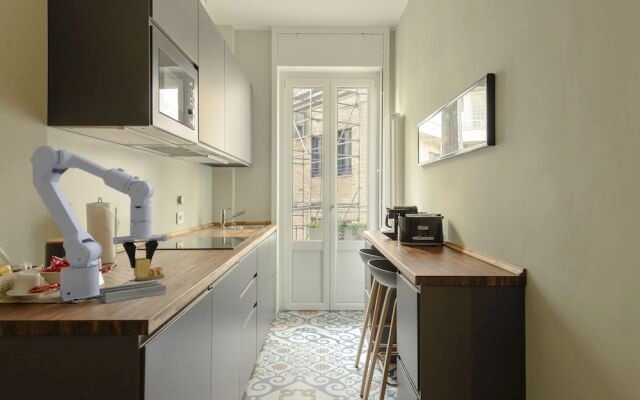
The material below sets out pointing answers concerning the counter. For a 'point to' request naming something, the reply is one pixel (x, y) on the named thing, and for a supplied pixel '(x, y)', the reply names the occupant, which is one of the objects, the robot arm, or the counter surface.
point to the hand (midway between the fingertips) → (140, 266)
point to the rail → (131, 291)
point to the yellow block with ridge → (141, 267)
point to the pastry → (153, 274)
